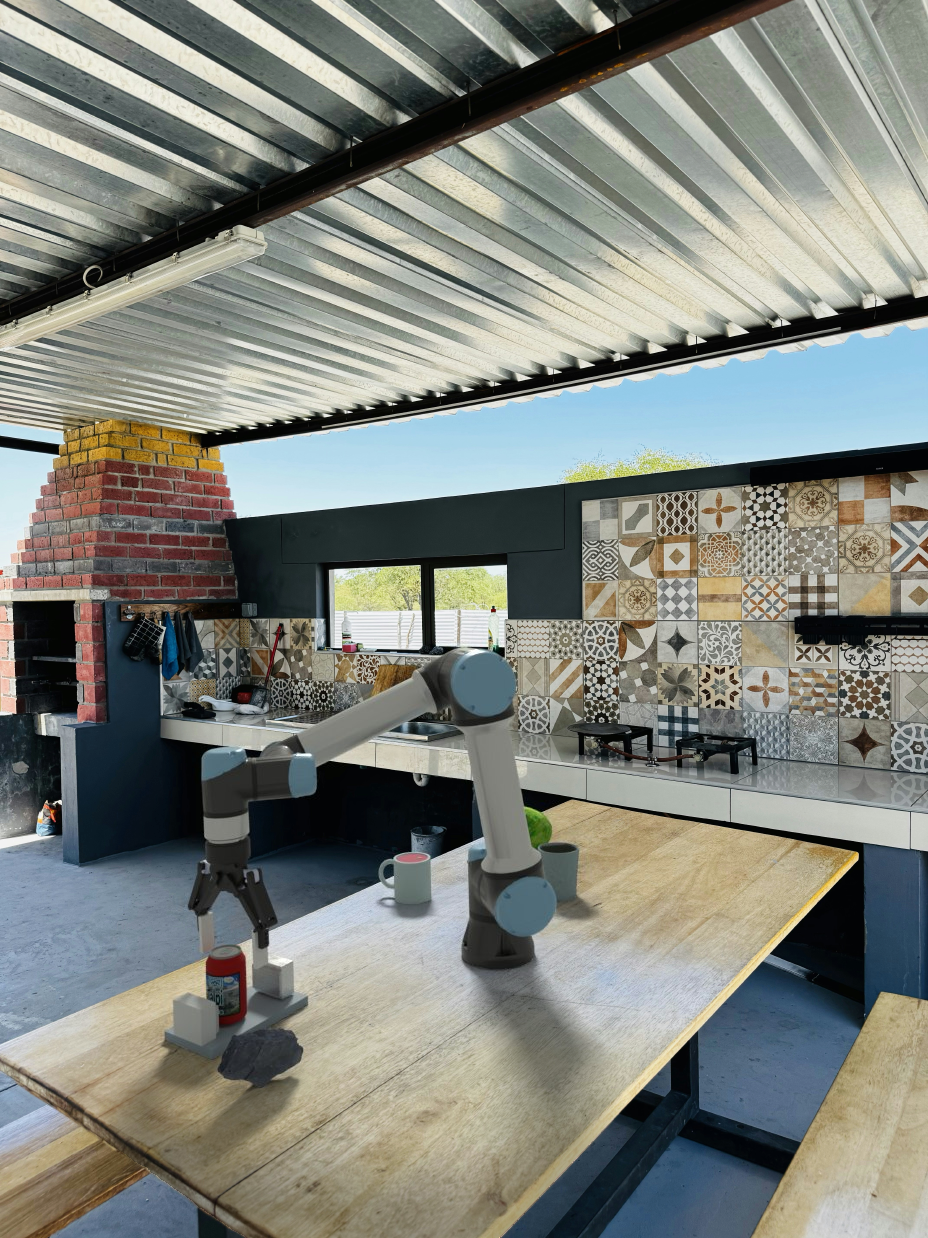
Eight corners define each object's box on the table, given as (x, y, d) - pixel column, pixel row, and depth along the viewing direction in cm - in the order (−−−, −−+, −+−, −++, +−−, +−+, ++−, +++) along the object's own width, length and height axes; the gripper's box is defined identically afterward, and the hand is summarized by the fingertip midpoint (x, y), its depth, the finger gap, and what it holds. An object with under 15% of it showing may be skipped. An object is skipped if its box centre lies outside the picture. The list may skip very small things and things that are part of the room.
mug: (436, 893, 211) (435, 853, 211) (423, 906, 202) (422, 864, 202) (387, 888, 216) (386, 849, 216) (371, 900, 207) (370, 860, 207)
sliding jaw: (294, 993, 154) (293, 960, 154) (279, 1001, 151) (278, 968, 151) (267, 984, 158) (266, 952, 158) (252, 992, 155) (251, 959, 155)
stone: (280, 1060, 135) (279, 998, 134) (309, 1069, 132) (308, 1006, 132) (215, 1105, 123) (213, 1038, 122) (246, 1117, 120) (244, 1048, 119)
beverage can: (199, 1027, 143) (197, 957, 143) (219, 1008, 149) (218, 941, 149) (235, 1031, 141) (233, 960, 141) (254, 1012, 148) (252, 944, 148)
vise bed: (308, 1004, 154) (307, 963, 153) (212, 1060, 135) (211, 1013, 135) (262, 988, 160) (261, 949, 160) (164, 1040, 142) (163, 996, 142)
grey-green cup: (533, 900, 205) (532, 851, 205) (545, 886, 214) (544, 840, 214) (574, 904, 201) (573, 855, 201) (584, 891, 210) (583, 843, 210)
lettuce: (501, 842, 256) (513, 798, 257) (556, 864, 243) (567, 818, 244) (473, 841, 244) (484, 795, 246) (528, 864, 232) (540, 816, 233)
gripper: (294, 840, 142) (300, 964, 143) (197, 824, 156) (203, 937, 156) (261, 852, 136) (268, 982, 136) (163, 834, 149) (169, 952, 150)
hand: (233, 958), depth 146 cm, fingers open, 13 cm apart
